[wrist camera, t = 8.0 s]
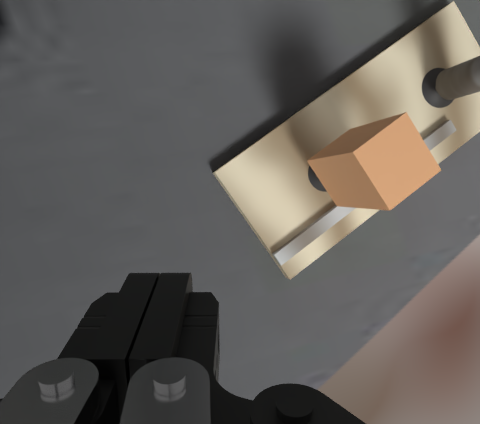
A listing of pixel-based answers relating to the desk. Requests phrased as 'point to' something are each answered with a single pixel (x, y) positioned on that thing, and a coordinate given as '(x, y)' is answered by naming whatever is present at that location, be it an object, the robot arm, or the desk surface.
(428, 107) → the plate
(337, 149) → the tan wooden block
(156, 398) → the robot arm
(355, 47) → the desk surface
